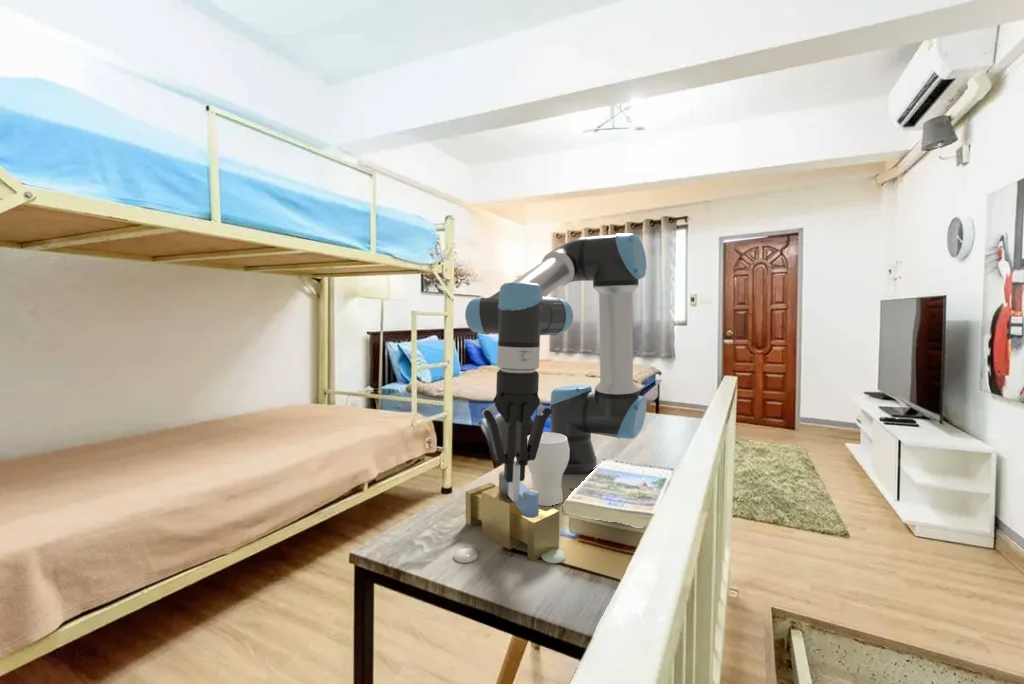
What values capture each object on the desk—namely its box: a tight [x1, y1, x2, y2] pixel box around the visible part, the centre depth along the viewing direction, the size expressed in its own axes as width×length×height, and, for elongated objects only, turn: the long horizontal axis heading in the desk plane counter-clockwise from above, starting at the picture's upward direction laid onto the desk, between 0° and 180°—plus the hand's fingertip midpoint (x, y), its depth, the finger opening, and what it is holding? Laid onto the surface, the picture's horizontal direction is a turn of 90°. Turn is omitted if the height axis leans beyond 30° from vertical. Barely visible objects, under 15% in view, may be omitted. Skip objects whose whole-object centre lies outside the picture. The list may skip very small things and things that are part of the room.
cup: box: [526, 431, 570, 507], centre depth 106 cm, size 11×11×15 cm
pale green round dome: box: [540, 548, 566, 564], centre depth 82 cm, size 4×4×1 cm
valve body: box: [465, 482, 560, 562], centre depth 89 cm, size 20×8×9 cm, turn 44°
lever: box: [498, 470, 540, 518], centre depth 84 cm, size 15×4×4 cm, turn 19°
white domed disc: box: [453, 547, 479, 564], centre depth 82 cm, size 4×4×1 cm
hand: (513, 498), depth 81 cm, fingers closed
